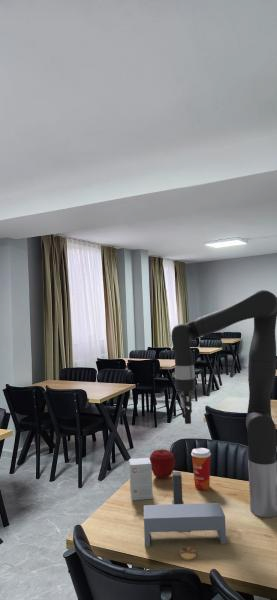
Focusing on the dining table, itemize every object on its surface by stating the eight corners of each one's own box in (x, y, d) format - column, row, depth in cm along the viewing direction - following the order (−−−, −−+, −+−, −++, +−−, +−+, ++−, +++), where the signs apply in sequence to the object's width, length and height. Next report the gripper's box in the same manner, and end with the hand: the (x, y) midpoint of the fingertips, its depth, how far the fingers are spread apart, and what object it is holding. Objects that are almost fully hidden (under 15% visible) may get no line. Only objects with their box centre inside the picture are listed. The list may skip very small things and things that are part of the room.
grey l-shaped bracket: (183, 503, 139) (181, 471, 139) (189, 530, 121) (187, 494, 122) (172, 503, 139) (170, 472, 139) (176, 530, 121) (175, 494, 122)
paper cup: (189, 484, 154) (187, 448, 154) (206, 481, 156) (205, 446, 157) (197, 492, 146) (196, 455, 147) (215, 489, 149) (214, 452, 149)
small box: (150, 491, 149) (149, 457, 149) (153, 499, 143) (151, 463, 143) (129, 493, 148) (128, 458, 149) (131, 500, 142) (130, 464, 142)
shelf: (220, 528, 121) (219, 502, 122) (226, 543, 113) (225, 516, 114) (144, 531, 121) (143, 505, 122) (144, 546, 113) (143, 518, 114)
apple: (165, 485, 154) (164, 455, 154) (144, 478, 161) (143, 450, 161) (180, 476, 162) (179, 448, 162) (160, 470, 169) (159, 443, 169)
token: (194, 551, 111) (194, 546, 111) (197, 561, 106) (196, 556, 106) (179, 551, 111) (178, 547, 111) (180, 561, 106) (180, 557, 106)
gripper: (197, 379, 138) (199, 425, 137) (192, 373, 152) (193, 415, 152) (176, 380, 138) (178, 426, 137) (173, 374, 152) (174, 416, 152)
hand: (186, 420), depth 144 cm, fingers open, 8 cm apart
